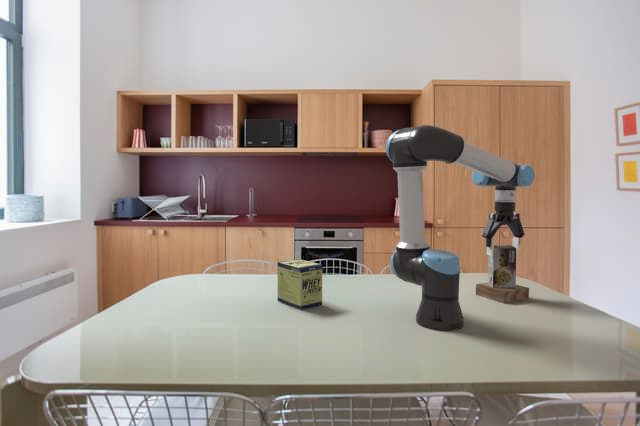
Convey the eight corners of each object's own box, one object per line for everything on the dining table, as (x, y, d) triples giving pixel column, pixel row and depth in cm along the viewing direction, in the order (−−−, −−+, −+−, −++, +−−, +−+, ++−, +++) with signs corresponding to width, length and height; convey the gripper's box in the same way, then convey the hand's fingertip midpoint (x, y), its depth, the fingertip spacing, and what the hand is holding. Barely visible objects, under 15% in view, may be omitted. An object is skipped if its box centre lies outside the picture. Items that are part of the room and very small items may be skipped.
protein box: (301, 310, 157) (300, 267, 156) (276, 301, 169) (276, 261, 168) (323, 305, 164) (323, 264, 162) (298, 296, 176) (298, 258, 174)
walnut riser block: (503, 304, 166) (504, 291, 166) (475, 296, 178) (476, 284, 178) (528, 300, 172) (529, 287, 172) (499, 292, 185) (500, 280, 184)
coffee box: (509, 284, 178) (511, 244, 176) (515, 288, 171) (517, 247, 170) (487, 283, 178) (488, 244, 177) (492, 287, 172) (493, 247, 170)
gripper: (488, 201, 164) (485, 257, 165) (535, 201, 174) (533, 254, 175) (473, 201, 171) (471, 254, 172) (520, 200, 181) (518, 251, 182)
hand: (502, 254), depth 174 cm, fingers open, 13 cm apart
